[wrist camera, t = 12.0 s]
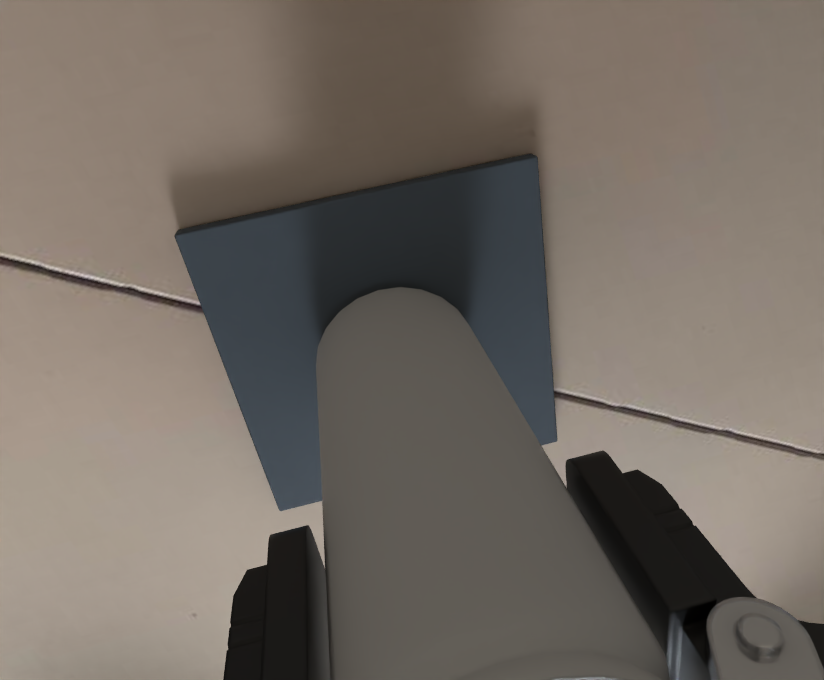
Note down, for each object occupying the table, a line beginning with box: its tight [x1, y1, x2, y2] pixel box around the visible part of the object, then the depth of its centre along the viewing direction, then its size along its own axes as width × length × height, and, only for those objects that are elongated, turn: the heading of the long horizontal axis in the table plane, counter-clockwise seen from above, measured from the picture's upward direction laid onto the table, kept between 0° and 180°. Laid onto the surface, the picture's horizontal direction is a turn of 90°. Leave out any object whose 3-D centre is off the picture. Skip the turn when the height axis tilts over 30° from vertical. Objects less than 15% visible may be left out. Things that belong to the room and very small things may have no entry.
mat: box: [175, 154, 557, 511], centre depth 18 cm, size 10×10×1 cm
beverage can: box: [316, 287, 670, 680], centre depth 13 cm, size 5×5×12 cm
